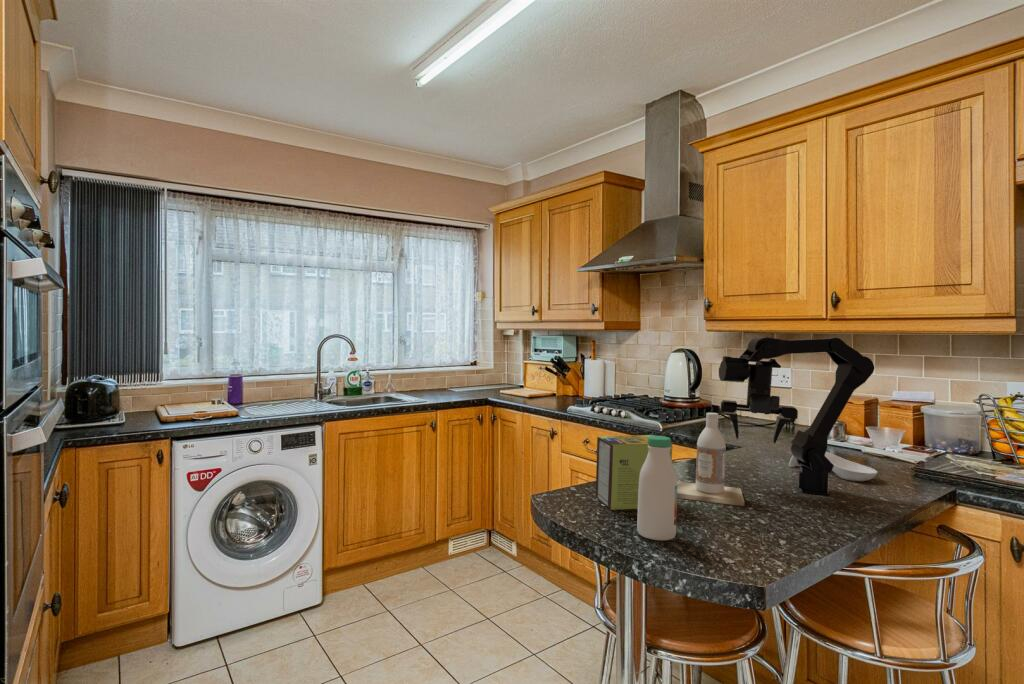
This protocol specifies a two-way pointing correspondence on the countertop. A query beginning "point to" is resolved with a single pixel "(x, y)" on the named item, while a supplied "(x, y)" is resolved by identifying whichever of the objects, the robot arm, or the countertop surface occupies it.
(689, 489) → the birch board
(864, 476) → the spoon rest
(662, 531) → the milk bottle
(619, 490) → the protein box
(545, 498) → the countertop surface
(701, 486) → the bath foam
